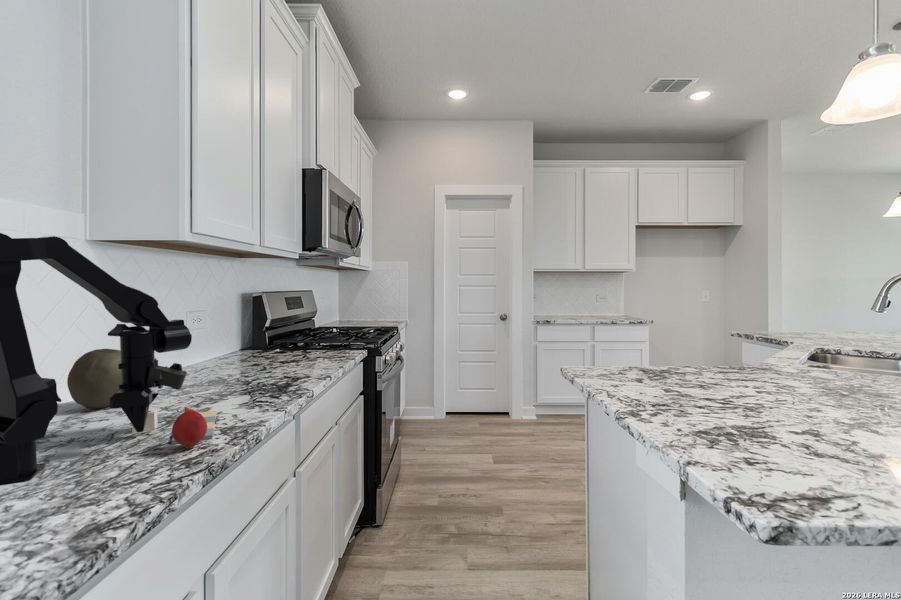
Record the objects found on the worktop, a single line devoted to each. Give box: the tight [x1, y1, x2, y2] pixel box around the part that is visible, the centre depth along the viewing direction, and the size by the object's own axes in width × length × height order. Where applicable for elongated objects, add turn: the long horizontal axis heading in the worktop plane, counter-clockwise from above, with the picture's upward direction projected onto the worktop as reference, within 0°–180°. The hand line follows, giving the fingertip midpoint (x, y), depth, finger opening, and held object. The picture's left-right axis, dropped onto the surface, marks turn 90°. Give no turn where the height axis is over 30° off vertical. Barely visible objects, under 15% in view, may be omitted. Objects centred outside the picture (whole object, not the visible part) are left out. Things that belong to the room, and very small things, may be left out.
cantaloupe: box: [66, 348, 122, 410], centre depth 117 cm, size 14×14×15 cm
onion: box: [171, 406, 207, 450], centre depth 86 cm, size 6×6×8 cm
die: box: [131, 407, 159, 434], centre depth 98 cm, size 4×4×4 cm
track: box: [171, 410, 217, 445], centre depth 99 cm, size 20×7×1 cm, turn 25°
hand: (140, 431), depth 93 cm, fingers closed
